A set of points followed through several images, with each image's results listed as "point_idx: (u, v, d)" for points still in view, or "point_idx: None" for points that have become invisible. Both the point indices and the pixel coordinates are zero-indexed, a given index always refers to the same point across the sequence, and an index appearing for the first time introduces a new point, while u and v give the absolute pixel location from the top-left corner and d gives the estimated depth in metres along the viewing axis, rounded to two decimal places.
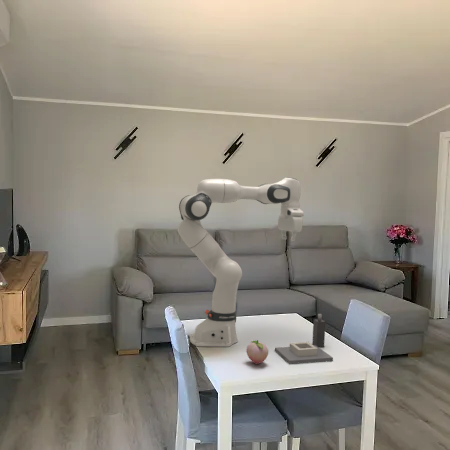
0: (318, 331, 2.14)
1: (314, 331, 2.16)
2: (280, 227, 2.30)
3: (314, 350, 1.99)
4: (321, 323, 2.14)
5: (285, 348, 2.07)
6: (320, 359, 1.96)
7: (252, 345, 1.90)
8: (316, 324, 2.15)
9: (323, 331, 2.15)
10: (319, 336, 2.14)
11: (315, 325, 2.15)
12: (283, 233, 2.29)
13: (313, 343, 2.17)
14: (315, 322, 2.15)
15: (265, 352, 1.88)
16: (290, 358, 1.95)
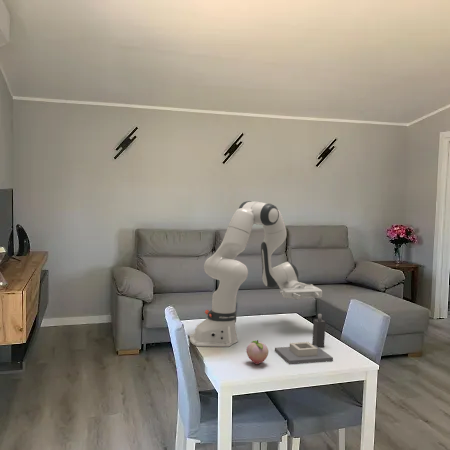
0: (318, 331, 2.14)
1: (314, 331, 2.16)
2: (291, 290, 2.31)
3: (314, 350, 1.99)
4: (321, 323, 2.14)
5: (285, 348, 2.07)
6: (320, 359, 1.96)
7: (252, 345, 1.90)
8: (316, 324, 2.15)
9: (323, 331, 2.15)
10: (319, 336, 2.14)
11: (315, 325, 2.15)
12: None
13: (313, 343, 2.17)
14: (315, 322, 2.15)
15: (265, 352, 1.88)
16: (290, 358, 1.95)
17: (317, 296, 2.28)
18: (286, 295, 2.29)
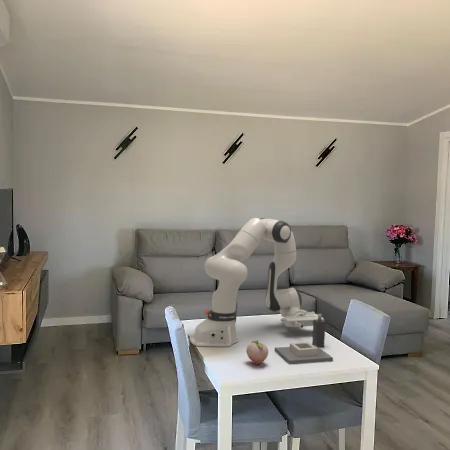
0: (318, 331, 2.14)
1: (314, 331, 2.16)
2: (293, 319, 2.28)
3: (314, 350, 1.99)
4: (321, 323, 2.14)
5: (285, 348, 2.07)
6: (320, 359, 1.96)
7: (252, 345, 1.90)
8: (316, 324, 2.15)
9: (323, 331, 2.15)
10: (319, 336, 2.14)
11: (315, 325, 2.15)
12: None
13: (313, 343, 2.17)
14: (315, 322, 2.15)
15: (265, 352, 1.88)
16: (290, 358, 1.95)
17: None
18: (287, 324, 2.26)
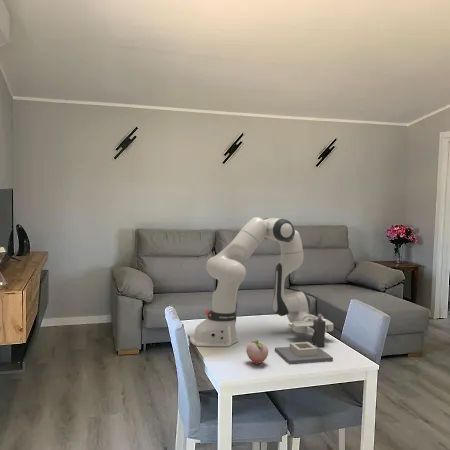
0: (318, 331, 2.14)
1: None
2: (301, 324, 2.19)
3: (314, 350, 1.99)
4: (321, 323, 2.14)
5: (285, 348, 2.07)
6: (320, 359, 1.96)
7: (252, 345, 1.90)
8: (316, 324, 2.15)
9: (323, 331, 2.15)
10: (319, 336, 2.14)
11: (315, 325, 2.15)
12: None
13: (313, 343, 2.17)
14: (315, 322, 2.15)
15: (265, 352, 1.88)
16: (290, 358, 1.95)
17: None
18: (296, 329, 2.18)
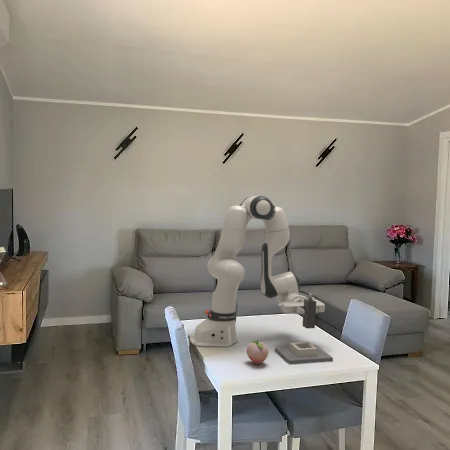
0: (308, 311, 2.03)
1: None
2: (291, 304, 2.08)
3: (314, 350, 1.99)
4: (312, 303, 2.03)
5: (285, 348, 2.07)
6: (320, 359, 1.96)
7: (252, 345, 1.90)
8: (306, 304, 2.04)
9: (314, 311, 2.04)
10: (309, 316, 2.03)
11: (305, 305, 2.05)
12: None
13: (303, 324, 2.06)
14: (305, 302, 2.05)
15: (265, 352, 1.88)
16: (290, 358, 1.95)
17: None
18: (285, 309, 2.07)
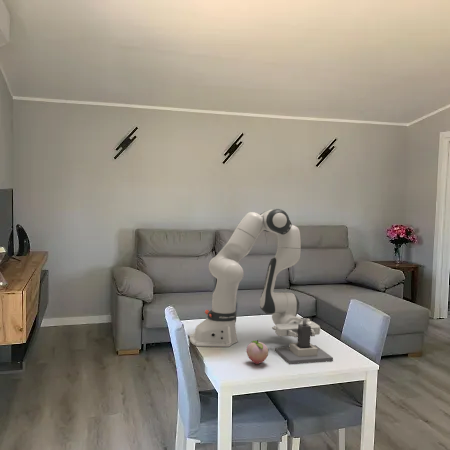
0: (303, 337, 2.00)
1: (299, 337, 2.02)
2: (285, 327, 2.05)
3: (314, 350, 1.99)
4: (306, 328, 2.00)
5: (285, 348, 2.07)
6: (320, 359, 1.96)
7: (252, 345, 1.90)
8: (301, 329, 2.00)
9: (308, 337, 2.00)
10: (304, 342, 2.00)
11: (300, 330, 2.01)
12: None
13: None
14: (300, 327, 2.01)
15: (265, 352, 1.88)
16: (290, 358, 1.95)
17: (313, 334, 2.02)
18: (279, 333, 2.03)
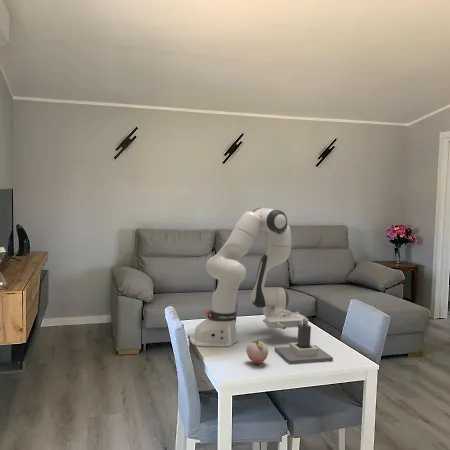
0: (303, 337, 2.00)
1: (299, 337, 2.02)
2: (275, 320, 2.16)
3: (314, 350, 1.99)
4: (306, 328, 2.00)
5: (285, 348, 2.07)
6: (320, 359, 1.96)
7: (252, 345, 1.90)
8: (301, 329, 2.00)
9: (308, 337, 2.00)
10: (304, 342, 2.00)
11: (300, 330, 2.01)
12: None
13: None
14: (300, 327, 2.01)
15: (265, 352, 1.88)
16: (290, 358, 1.95)
17: None
18: (269, 325, 2.15)
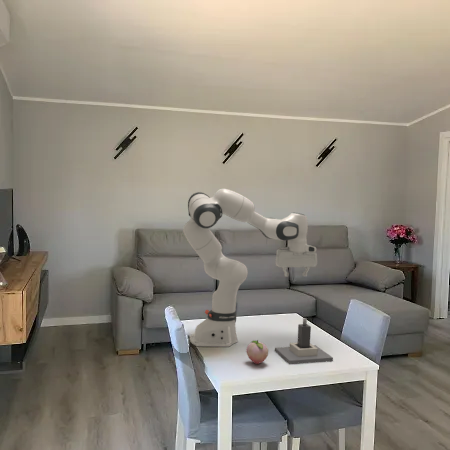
0: (303, 337, 2.00)
1: (299, 337, 2.02)
2: (285, 264, 2.17)
3: (314, 350, 1.99)
4: (306, 328, 2.00)
5: (285, 348, 2.07)
6: (320, 359, 1.96)
7: (252, 345, 1.90)
8: (301, 329, 2.00)
9: (308, 337, 2.00)
10: (304, 342, 2.00)
11: (300, 330, 2.01)
12: None
13: None
14: (300, 327, 2.01)
15: (265, 352, 1.88)
16: (290, 358, 1.95)
17: None
18: (277, 266, 2.18)
